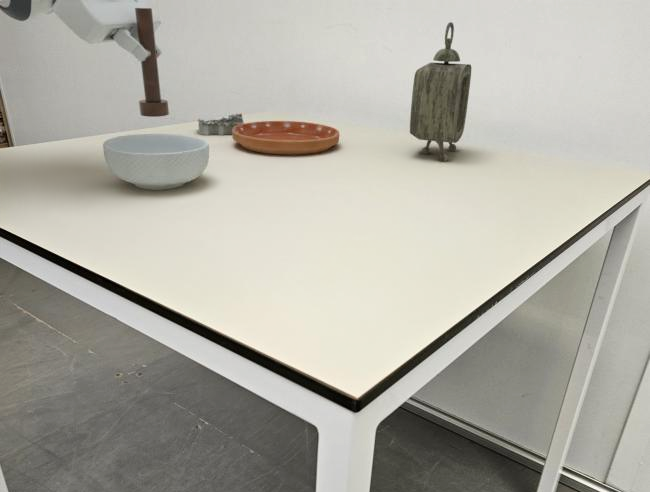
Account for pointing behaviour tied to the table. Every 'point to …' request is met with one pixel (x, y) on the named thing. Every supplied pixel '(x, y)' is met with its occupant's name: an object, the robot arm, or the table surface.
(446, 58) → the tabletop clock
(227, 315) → the table surface
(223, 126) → the egg carton
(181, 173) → the cereal bowl
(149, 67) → the stirring stick
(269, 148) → the saucer
